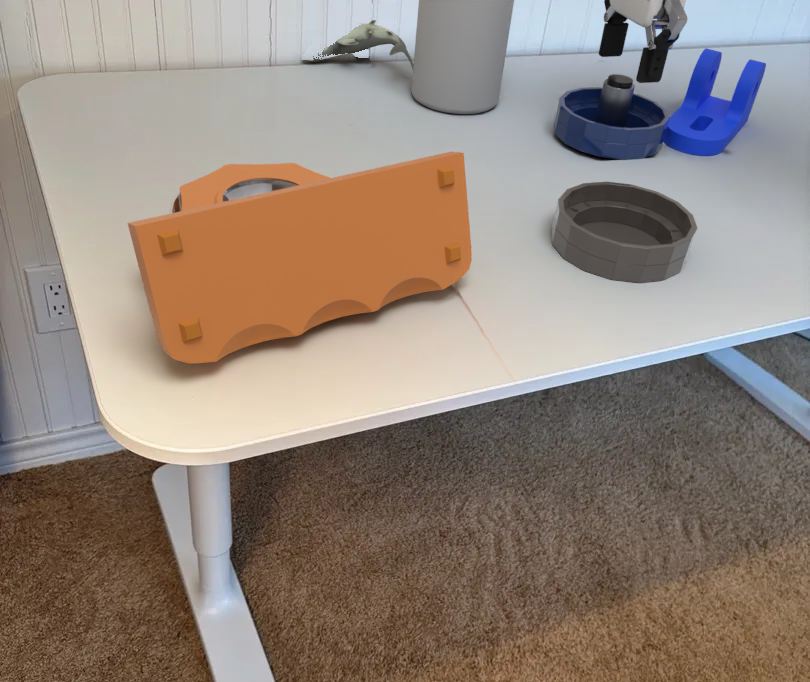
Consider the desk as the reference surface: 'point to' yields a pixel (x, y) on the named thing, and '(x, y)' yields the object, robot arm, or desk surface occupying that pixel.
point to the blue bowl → (610, 141)
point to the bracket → (712, 108)
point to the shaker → (615, 100)
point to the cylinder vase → (460, 54)
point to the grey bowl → (622, 231)
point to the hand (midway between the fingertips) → (628, 68)
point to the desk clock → (297, 249)
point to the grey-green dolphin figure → (366, 41)
